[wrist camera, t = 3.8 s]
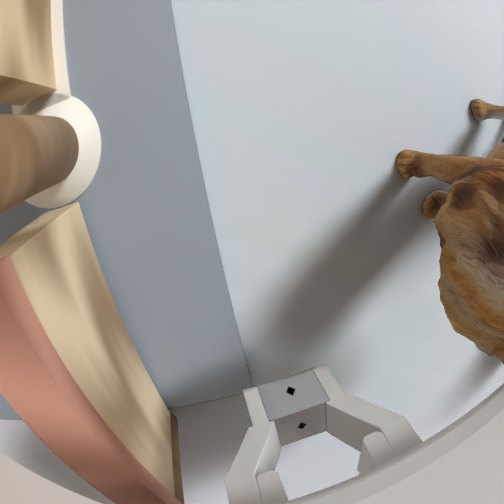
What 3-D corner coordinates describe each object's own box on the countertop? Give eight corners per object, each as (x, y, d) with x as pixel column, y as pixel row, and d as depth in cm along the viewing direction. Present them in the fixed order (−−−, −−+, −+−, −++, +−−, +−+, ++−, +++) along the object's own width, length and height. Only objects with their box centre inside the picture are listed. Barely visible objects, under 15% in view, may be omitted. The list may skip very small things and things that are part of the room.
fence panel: (38, 212, 9) (-79, 306, 3) (83, 196, 9) (-29, 289, 3) (149, 432, 14) (152, 539, 8) (182, 427, 14) (195, 537, 8)
